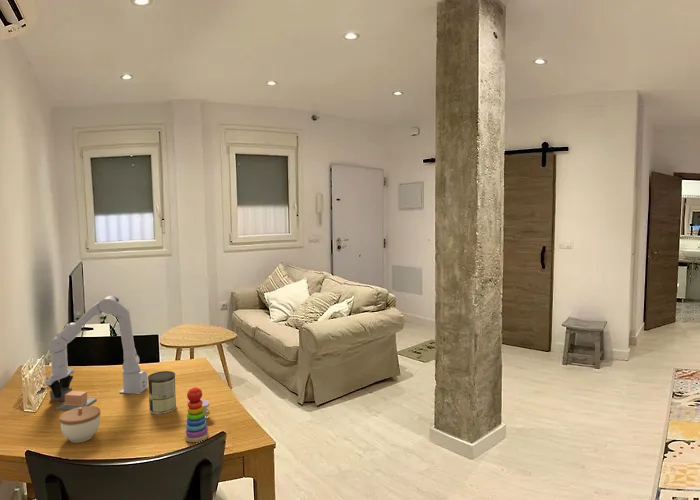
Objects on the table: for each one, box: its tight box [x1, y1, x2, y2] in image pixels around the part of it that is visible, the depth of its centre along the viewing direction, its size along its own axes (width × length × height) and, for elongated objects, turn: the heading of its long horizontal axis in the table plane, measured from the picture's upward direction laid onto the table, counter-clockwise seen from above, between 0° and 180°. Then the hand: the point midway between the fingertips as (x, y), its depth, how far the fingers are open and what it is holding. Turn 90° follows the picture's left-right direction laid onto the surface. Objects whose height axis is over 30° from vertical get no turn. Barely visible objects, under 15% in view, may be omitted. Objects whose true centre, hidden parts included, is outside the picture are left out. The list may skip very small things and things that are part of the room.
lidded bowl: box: [59, 405, 101, 444], centre depth 168 cm, size 13×13×11 cm
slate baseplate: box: [55, 397, 98, 411], centre depth 196 cm, size 11×10×1 cm
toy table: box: [187, 398, 210, 417], centre depth 186 cm, size 10×9×6 cm
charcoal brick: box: [49, 387, 73, 402], centre depth 202 cm, size 7×4×4 cm, turn 84°
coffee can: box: [147, 370, 177, 415], centre depth 192 cm, size 10×10×14 cm
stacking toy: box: [184, 386, 209, 443], centre depth 167 cm, size 8×8×19 cm
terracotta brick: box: [64, 390, 88, 405], centre depth 196 cm, size 7×4×4 cm, turn 84°
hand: (61, 395), depth 202 cm, fingers closed on charcoal brick, 4 cm apart
